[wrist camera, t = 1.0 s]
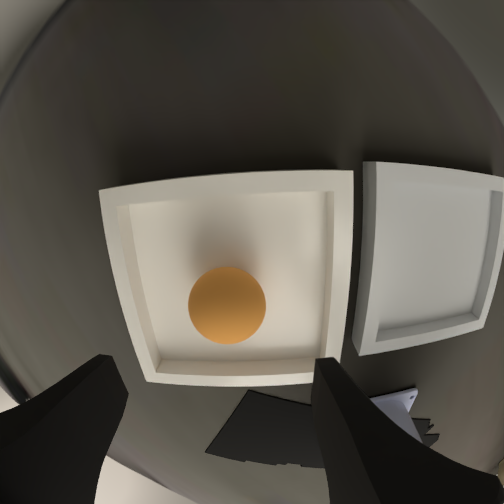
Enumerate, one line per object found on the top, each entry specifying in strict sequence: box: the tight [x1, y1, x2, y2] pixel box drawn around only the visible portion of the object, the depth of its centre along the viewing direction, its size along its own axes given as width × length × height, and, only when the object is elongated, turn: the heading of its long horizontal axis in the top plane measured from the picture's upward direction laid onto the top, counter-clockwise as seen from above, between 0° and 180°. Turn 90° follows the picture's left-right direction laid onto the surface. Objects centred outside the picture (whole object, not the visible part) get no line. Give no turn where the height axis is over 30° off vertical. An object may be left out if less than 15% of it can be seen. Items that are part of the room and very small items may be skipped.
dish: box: [99, 169, 353, 386], centre depth 16 cm, size 13×13×2 cm
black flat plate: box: [205, 390, 440, 468], centre depth 23 cm, size 12×1×30 cm
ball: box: [188, 267, 266, 344], centre depth 14 cm, size 4×4×4 cm
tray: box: [351, 161, 504, 356], centre depth 15 cm, size 12×12×2 cm
